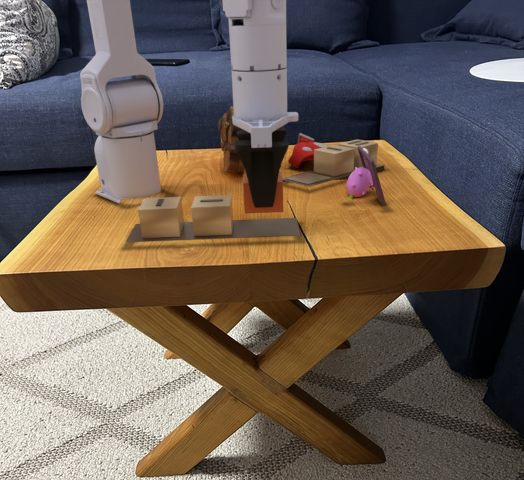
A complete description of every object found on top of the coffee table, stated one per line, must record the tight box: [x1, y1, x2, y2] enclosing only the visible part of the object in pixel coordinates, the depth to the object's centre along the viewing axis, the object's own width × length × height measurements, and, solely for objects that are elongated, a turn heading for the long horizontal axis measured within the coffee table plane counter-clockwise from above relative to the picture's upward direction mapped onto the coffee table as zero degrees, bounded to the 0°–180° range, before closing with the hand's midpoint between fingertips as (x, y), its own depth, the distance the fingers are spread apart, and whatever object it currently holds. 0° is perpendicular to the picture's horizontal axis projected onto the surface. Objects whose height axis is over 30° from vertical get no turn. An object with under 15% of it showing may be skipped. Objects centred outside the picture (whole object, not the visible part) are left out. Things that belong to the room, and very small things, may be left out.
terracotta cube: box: [242, 171, 284, 214], centre depth 64 cm, size 4×4×4 cm
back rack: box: [282, 139, 385, 188], centre depth 86 cm, size 17×6×4 cm, turn 131°
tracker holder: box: [288, 132, 329, 169], centre depth 95 cm, size 12×4×10 cm
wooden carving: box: [217, 105, 245, 174], centre depth 91 cm, size 16×5×10 cm, turn 13°
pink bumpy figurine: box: [345, 146, 387, 207], centre depth 74 cm, size 7×5×9 cm
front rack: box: [125, 194, 301, 243], centre depth 65 cm, size 20×6×4 cm, turn 91°
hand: (263, 200), depth 64 cm, fingers closed on terracotta cube, 4 cm apart
